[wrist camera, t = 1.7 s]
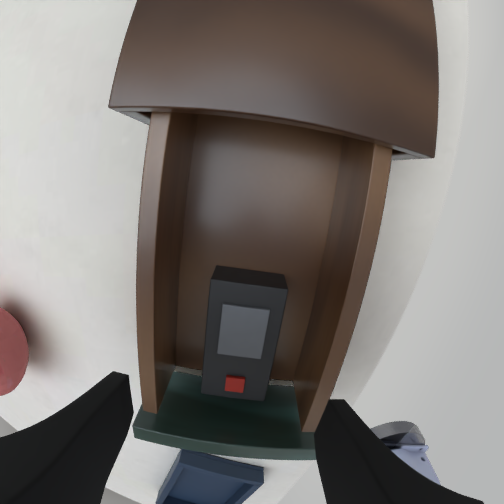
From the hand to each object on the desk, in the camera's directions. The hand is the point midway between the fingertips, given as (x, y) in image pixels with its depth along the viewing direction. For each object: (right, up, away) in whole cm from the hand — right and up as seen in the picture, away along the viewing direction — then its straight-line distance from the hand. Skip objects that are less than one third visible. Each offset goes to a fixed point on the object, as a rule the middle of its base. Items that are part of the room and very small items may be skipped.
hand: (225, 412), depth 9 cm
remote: (0, +1, +7) cm, 7 cm away
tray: (-4, -19, +14) cm, 24 cm away
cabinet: (+3, +21, +4) cm, 22 cm away
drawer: (+1, +4, +7) cm, 9 cm away
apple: (-20, -1, +10) cm, 23 cm away
